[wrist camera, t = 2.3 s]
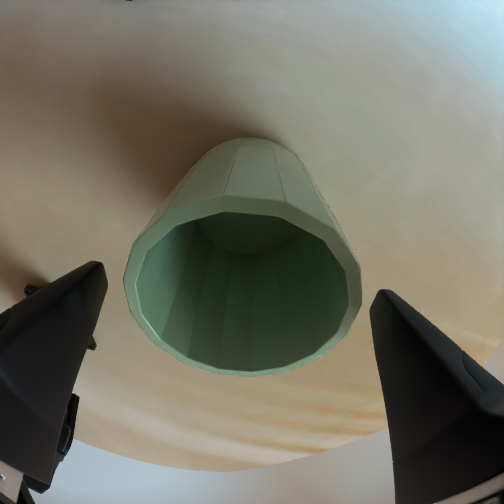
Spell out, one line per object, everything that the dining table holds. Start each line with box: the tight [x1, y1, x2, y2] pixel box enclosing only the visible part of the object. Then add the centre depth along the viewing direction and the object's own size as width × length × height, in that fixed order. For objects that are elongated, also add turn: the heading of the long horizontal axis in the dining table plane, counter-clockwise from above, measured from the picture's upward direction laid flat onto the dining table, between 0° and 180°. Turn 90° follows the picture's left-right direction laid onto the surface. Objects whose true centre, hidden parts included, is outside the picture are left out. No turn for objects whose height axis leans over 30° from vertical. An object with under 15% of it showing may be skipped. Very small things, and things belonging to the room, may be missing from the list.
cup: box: [123, 137, 362, 377], centre depth 11 cm, size 7×7×8 cm
